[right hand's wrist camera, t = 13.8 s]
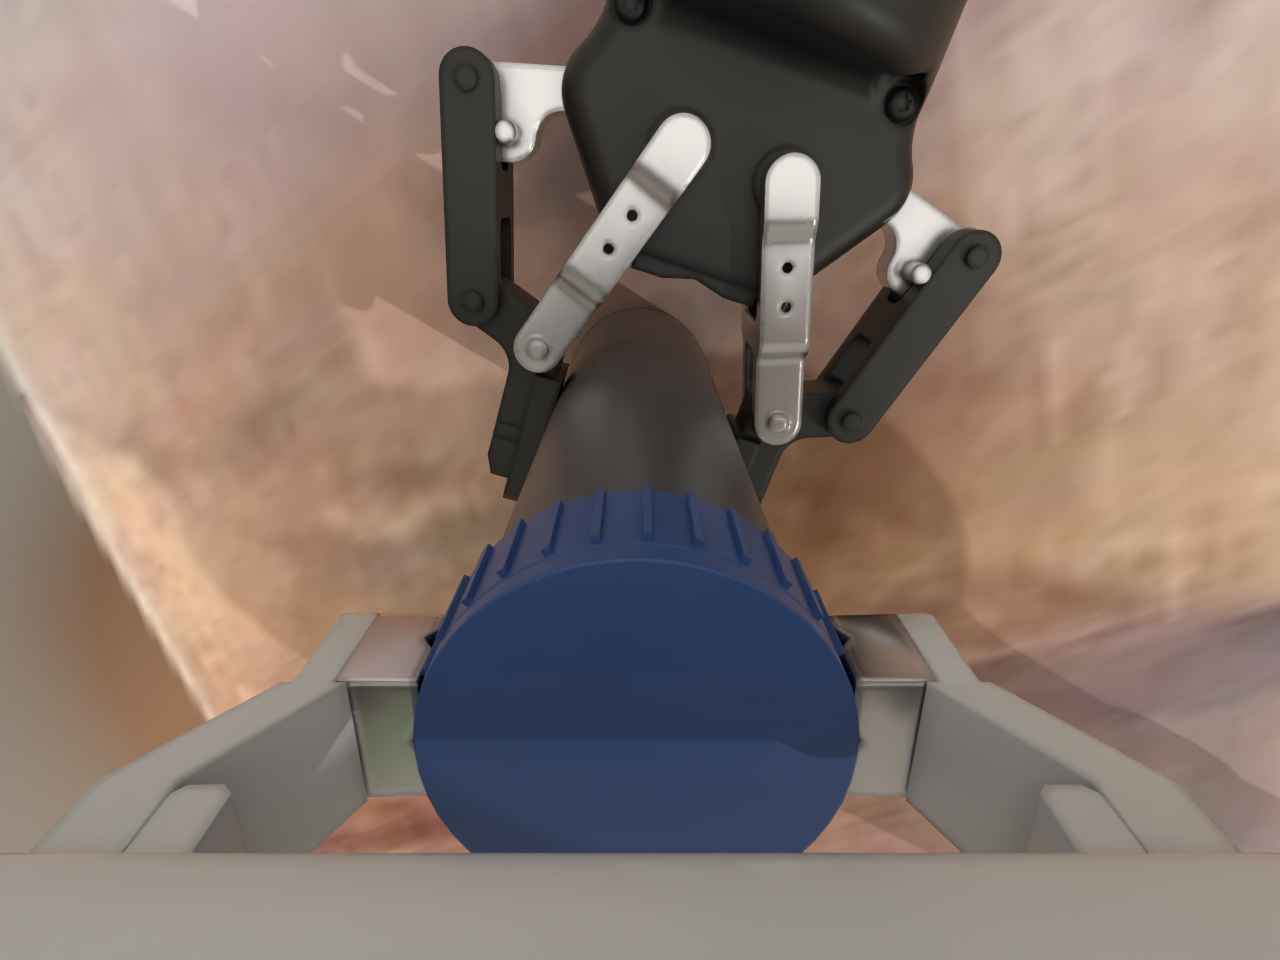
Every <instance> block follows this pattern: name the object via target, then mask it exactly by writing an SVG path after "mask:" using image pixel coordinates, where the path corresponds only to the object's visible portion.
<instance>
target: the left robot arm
mask: <svg viewBox="0 0 1280 960" xmlns="http://www.w3.org/2000/svg"><path fill="white" fill-rule="evenodd" d="M966 2H967V0H606V4H605V6H604V9H603V12H602V14H601V16H600V18H599V20H598V22H597V24H596V26H595V27H594V28H593V30H592V31H591V33H590V34H589V36H588V37H587V38H586V39H585V40H584V41H583V43H582V44H581V45H580V46H579V47H578V48H577V49H576V50H575V51H574V53H573V54H572V56H571V57H570V59H569V61H568V63H567V65H566V66H556V65H541V64H526V63H510V62H496V61H492V60H490V59H488V58H487V57H486V56H485V55H484V54H483V53H481V52H480V51H479V50H477V49H475V48H473V47H469V46H460V47H456V48H454V49H452V50H450V51H449V52H448V53H447V54H446V55H445V56H444V58H443V60H442V62H441V64H440V68H439V92H440V116H441V141H442V166H443V191H444V216H445V241H446V265H447V290H448V304H449V308H450V310H451V312H452V313H453V315H454V316H455V317H456V318H457V319H458V320H459V321H460V322H462V323H464V324H466V325H470V326H477V327H478V328H479V329H481V330H482V331H483V332H485V333H486V334H488V335H489V336H490V337H492V338H493V339H494V340H496V341H497V342H498V343H499V344H500V345H501V346H502V347H503V349H504V350H505V352H506V354H507V357H508V361H509V372H508V377H507V381H506V385H505V389H504V393H503V397H502V400H501V404H500V408H499V412H498V416H497V421H496V424H495V428H494V432H493V436H492V440H491V444H490V448H489V452H488V459H489V465H490V471H491V473H492V474H496V475H499V476H503V477H506V478H508V479H507V483H506V486H505V490H504V495H503V498H507V499H510V500H514V501H517V500H518V498H519V495H520V493H521V490H522V488H523V485H524V483H525V480H526V478H527V475H528V473H529V470H530V468H531V465H532V463H533V460H534V458H535V455H536V453H537V450H538V448H539V445H540V443H541V440H542V438H543V435H544V433H545V430H546V428H547V425H548V423H549V420H550V418H551V415H552V413H553V410H554V408H555V405H556V403H557V400H558V398H559V395H560V393H561V390H562V388H563V384H564V380H565V377H566V373H567V370H568V366H569V364H567V363H564V362H563V358H564V355H565V352H566V351H567V350H568V348H569V347H570V345H571V344H572V343H573V341H574V340H575V339H576V337H577V336H578V334H579V333H580V332H581V330H582V329H583V327H584V326H585V325H586V323H587V322H588V321H589V319H590V318H591V316H592V315H593V314H594V312H595V311H596V310H597V308H598V307H599V306H600V305H601V304H602V302H603V301H604V300H605V299H606V297H607V296H608V294H609V293H610V292H611V290H612V289H613V288H614V286H615V285H616V283H617V282H618V281H619V279H620V278H621V277H622V275H623V274H624V272H625V271H626V270H627V268H628V267H629V265H630V264H632V266H631V268H634V269H637V270H640V271H643V272H646V273H649V274H652V275H655V276H658V277H661V278H682V279H695V280H697V281H699V282H700V283H702V284H703V285H705V286H706V287H708V288H709V289H711V290H712V291H714V292H715V293H717V294H718V295H720V296H721V297H723V298H725V299H728V300H732V301H735V302H738V303H741V304H742V309H741V326H742V336H743V394H742V400H743V401H742V403H741V406H740V409H739V411H738V414H737V416H734V415H730V414H727V419H728V421H729V424H730V427H731V429H732V432H733V434H734V437H735V440H736V442H737V445H738V448H739V450H740V453H741V456H742V458H743V461H744V463H745V466H746V469H747V471H748V474H749V477H750V479H751V482H752V485H753V487H754V490H755V492H756V495H757V498H758V500H759V503H760V504H761V500H762V499H763V497H764V494H765V492H766V490H767V487H768V485H769V482H770V480H771V477H772V475H773V473H774V470H775V468H776V465H777V463H778V460H779V458H780V456H781V454H782V452H783V451H784V449H785V448H786V447H787V446H788V445H790V444H791V443H793V442H794V441H796V440H799V439H802V438H808V437H832V436H833V437H834V438H835V439H836V440H838V441H840V442H843V443H854V442H858V441H860V440H862V439H864V438H865V437H866V436H867V435H868V434H869V433H870V432H871V430H872V429H873V428H874V427H875V425H876V424H877V423H878V421H879V420H880V419H881V417H882V416H883V415H884V414H885V412H886V411H887V410H888V408H889V407H890V406H891V405H892V403H893V402H894V401H895V399H896V398H897V397H898V395H899V394H900V393H901V392H902V390H903V389H904V388H905V386H906V385H907V384H908V383H909V381H910V380H911V379H912V377H913V376H914V375H915V373H916V372H917V371H918V370H919V368H920V367H921V366H922V364H923V363H924V362H925V361H926V359H927V358H928V357H929V355H930V354H931V353H932V351H933V350H934V349H935V348H936V346H937V345H938V344H939V342H940V341H941V340H942V339H943V337H944V336H945V335H946V333H947V332H948V331H949V330H950V328H951V327H952V326H953V324H954V323H955V322H956V320H957V319H958V318H959V317H960V315H961V314H962V313H963V311H964V310H965V309H966V308H967V306H968V305H969V304H970V302H971V301H972V300H973V298H974V297H975V296H976V295H977V293H978V292H979V291H980V289H981V288H982V287H983V286H984V284H985V283H986V282H987V280H988V279H989V278H990V276H991V275H992V274H993V273H994V271H995V270H996V268H997V267H998V265H999V263H1000V260H1001V254H1002V251H1001V245H1000V242H999V240H998V239H997V237H996V236H995V235H993V234H992V233H990V232H988V231H984V230H977V229H975V228H970V227H962V226H960V225H959V224H958V223H956V222H955V221H953V220H952V219H951V218H949V217H948V216H947V215H945V214H944V213H943V212H941V211H940V210H938V209H937V208H936V207H934V206H933V205H932V204H930V203H929V202H927V201H926V200H925V199H923V198H922V197H921V196H919V195H918V194H916V193H915V192H914V191H912V190H911V186H912V181H913V164H912V141H913V134H914V129H915V125H916V121H917V118H918V116H919V113H920V111H921V109H922V107H923V104H924V102H925V100H926V98H927V96H928V93H929V91H930V89H931V87H932V84H933V82H934V80H935V77H936V75H937V72H938V70H939V67H940V65H941V62H942V60H943V58H944V55H945V53H946V50H947V48H948V45H949V43H950V41H951V38H952V36H953V33H954V31H955V28H956V26H957V23H958V21H959V19H960V16H961V14H962V11H963V9H964V6H965V4H966ZM559 115H566V116H567V119H568V122H569V125H570V128H571V131H572V134H573V137H574V140H575V144H576V147H577V150H578V153H579V156H580V159H581V162H582V165H583V168H584V171H585V174H586V177H587V180H588V183H589V186H590V189H591V192H592V195H593V198H594V201H595V204H596V207H597V210H598V213H599V216H598V217H597V219H596V220H595V222H594V223H593V225H592V226H591V227H590V229H589V230H588V232H587V233H586V235H585V236H584V238H583V239H582V240H581V242H580V243H579V245H578V246H577V248H576V249H575V251H574V252H573V253H572V255H571V256H570V258H569V259H568V261H567V262H566V264H565V265H564V267H563V268H562V270H561V271H560V273H559V274H558V276H557V277H556V279H555V280H554V282H553V283H552V285H551V286H550V288H549V289H548V291H547V292H546V294H545V295H544V296H543V298H542V299H541V301H540V302H539V301H538V300H537V299H535V298H534V297H533V296H531V295H530V294H529V293H527V292H526V291H525V290H524V289H522V288H521V287H520V286H518V285H517V284H516V283H514V221H513V163H524V162H526V161H528V160H530V159H531V158H533V157H534V156H535V154H536V153H537V151H538V149H539V146H540V141H541V135H542V132H543V129H544V127H545V126H546V124H547V123H548V122H549V121H550V120H551V119H553V118H554V117H557V116H559ZM880 228H882V230H883V233H884V236H885V246H884V250H883V253H882V255H881V257H880V259H879V261H878V264H877V271H876V272H877V277H878V280H879V282H880V283H881V285H882V286H883V288H882V289H881V291H880V292H879V294H878V295H877V296H876V298H875V299H874V300H873V302H872V303H871V305H870V306H869V307H868V309H867V310H866V312H865V313H864V314H863V316H862V317H861V318H860V320H859V321H858V323H857V324H856V325H855V327H854V328H853V330H852V331H851V332H850V334H849V335H848V336H847V338H846V339H845V341H844V342H843V343H842V345H841V346H840V347H839V349H838V350H837V352H836V353H835V354H834V356H833V357H832V359H831V360H830V361H829V363H828V364H827V365H826V367H825V368H824V370H823V371H822V372H821V374H820V375H819V377H818V378H817V379H816V380H803V378H804V361H805V357H806V355H807V354H808V351H809V345H810V330H811V310H812V290H813V276H814V275H816V274H817V273H818V272H820V271H821V270H822V269H824V268H825V267H827V266H828V265H829V264H831V263H832V262H834V261H835V260H836V259H838V258H839V257H841V256H842V255H843V254H845V253H846V252H848V251H849V250H850V249H852V248H853V247H854V246H856V245H857V244H859V243H860V242H861V241H863V240H864V239H866V238H867V237H868V236H870V235H871V234H873V233H874V232H875V231H877V230H878V229H880Z"/></svg>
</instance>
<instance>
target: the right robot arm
mask: <svg viewBox="0 0 1280 960" xmlns="http://www.w3.org/2000/svg"><path fill="white" fill-rule="evenodd" d="M444 617H445V615H430V614H379V613H350V614H345V615H341V616H340V617H339V618H338V620H337V621H336V622H335V624H334V625H333V627H332V628H331V629H330V631H329V632H328V634H327V635H326V636H325V638H324V639H323V641H322V642H321V643H320V645H319V646H318V648H317V649H316V650H315V652H314V653H313V655H312V656H311V657H310V659H309V660H308V662H307V663H306V664H305V666H304V667H303V669H302V670H301V671H300V673H299V674H298V676H297V677H296V678H295V680H294V681H293V682H281V683H279V684H277V685H275V686H273V687H271V688H270V689H268V690H266V691H264V692H262V693H260V694H258V695H256V696H255V697H253V698H251V699H249V700H247V701H245V702H243V703H241V704H239V705H238V706H236V707H234V708H232V709H230V710H228V711H226V712H224V713H223V714H221V715H219V716H217V717H215V718H213V719H211V720H209V721H208V722H206V723H204V724H202V725H200V726H198V727H196V728H194V729H193V730H191V731H189V732H187V733H185V734H183V735H181V736H179V737H177V738H176V739H174V740H172V741H170V742H168V743H166V744H164V745H162V746H161V747H159V748H157V749H155V750H153V751H151V752H149V753H147V754H145V755H144V756H142V757H140V758H138V759H136V760H134V761H132V762H130V763H129V764H127V765H125V766H123V767H121V768H119V769H117V770H115V771H113V772H112V773H110V774H108V775H106V776H104V777H102V778H100V779H99V780H97V781H95V782H94V783H93V784H92V785H91V786H90V787H89V788H88V789H87V790H86V791H85V793H84V794H83V795H82V796H81V797H80V798H79V799H78V800H77V801H76V802H75V803H74V804H73V805H72V807H71V808H70V809H69V810H68V811H67V812H66V813H65V814H64V815H63V816H62V817H61V818H60V819H59V821H58V822H57V823H56V824H55V825H54V826H53V827H52V828H51V829H50V830H49V831H48V832H47V834H46V835H45V836H44V837H43V838H42V839H41V840H40V841H39V842H38V843H37V844H36V845H35V846H34V847H33V849H32V850H31V851H30V852H29V853H0V960H1280V853H1241V852H1240V851H1239V850H1238V848H1237V847H1236V846H1235V845H1234V844H1233V843H1232V842H1231V841H1230V840H1229V839H1228V837H1227V836H1226V835H1225V834H1224V833H1223V832H1222V831H1221V830H1220V829H1219V827H1218V826H1217V825H1216V824H1215V823H1214V822H1213V821H1212V820H1211V819H1210V818H1209V816H1208V815H1207V814H1206V813H1205V812H1204V811H1203V810H1202V809H1201V808H1200V807H1199V805H1198V804H1197V803H1196V802H1195V801H1194V800H1193V799H1192V798H1191V797H1190V796H1189V794H1188V793H1187V792H1186V791H1185V790H1184V789H1183V788H1182V787H1181V786H1180V785H1179V783H1178V782H1176V781H1174V780H1172V779H1170V778H1168V777H1166V776H1165V775H1163V774H1161V773H1159V772H1157V771H1155V770H1153V769H1152V768H1150V767H1148V766H1146V765H1144V764H1142V763H1140V762H1139V761H1137V760H1135V759H1133V758H1131V757H1129V756H1127V755H1126V754H1124V753H1122V752H1120V751H1118V750H1116V749H1114V748H1113V747H1111V746H1109V745H1107V744H1105V743H1103V742H1101V741H1100V740H1098V739H1096V738H1094V737H1092V736H1090V735H1088V734H1087V733H1085V732H1083V731H1081V730H1079V729H1077V728H1075V727H1074V726H1072V725H1070V724H1068V723H1066V722H1064V721H1062V720H1061V719H1059V718H1057V717H1055V716H1053V715H1051V714H1049V713H1048V712H1046V711H1044V710H1042V709H1040V708H1038V707H1036V706H1035V705H1033V704H1031V703H1029V702H1027V701H1025V700H1023V699H1022V698H1020V697H1018V696H1016V695H1014V694H1012V693H1010V692H1009V691H1007V690H1005V689H1003V688H1001V687H999V686H997V685H996V684H994V683H992V682H980V681H979V680H978V679H977V677H976V676H975V674H974V673H973V672H972V670H971V669H970V667H969V666H968V664H967V663H966V662H965V660H964V659H963V657H962V656H961V655H960V653H959V652H958V650H957V649H956V647H955V646H954V645H953V643H952V642H951V640H950V639H949V638H948V636H947V635H946V633H945V632H944V630H943V629H942V628H941V626H940V625H939V623H938V622H937V621H936V619H935V618H934V616H932V615H930V614H928V613H908V614H885V615H845V616H829V618H830V620H831V622H832V624H833V627H834V629H835V631H836V633H837V636H838V638H839V640H840V642H841V645H842V647H843V649H844V652H845V654H843V655H841V659H840V661H841V663H842V665H843V668H844V670H845V673H846V675H847V677H848V680H849V682H850V684H851V687H852V690H853V694H854V698H855V702H856V706H857V710H858V720H859V734H860V736H859V746H858V757H857V762H856V766H855V770H854V773H853V777H852V781H851V784H850V786H849V788H848V791H847V793H846V795H849V796H886V797H906V801H907V802H908V803H909V804H911V805H912V806H913V807H914V808H915V809H916V810H917V811H918V812H919V813H920V814H921V815H922V816H923V817H924V818H925V819H927V820H928V821H929V822H930V823H931V824H932V825H933V826H934V827H935V828H936V829H937V830H938V831H939V832H940V833H942V834H943V835H944V836H945V837H946V838H947V839H948V840H949V841H950V842H951V843H952V844H953V845H954V846H955V847H957V848H958V849H959V850H960V851H961V852H962V853H311V852H312V851H313V850H314V849H315V848H317V847H318V846H319V845H320V844H321V843H322V842H323V841H324V840H325V839H326V838H327V837H328V836H330V835H331V834H332V833H333V832H334V831H335V830H336V829H337V828H338V827H339V826H340V825H341V824H343V823H344V822H345V821H346V820H347V819H348V818H349V817H350V816H351V815H352V814H353V813H354V812H356V811H357V810H358V809H359V808H360V807H361V806H362V805H363V804H364V803H365V802H366V801H367V797H387V796H422V795H427V794H426V791H425V789H424V786H423V783H422V781H421V778H420V775H419V772H418V767H417V762H416V757H415V752H414V735H413V723H414V716H415V709H416V702H417V699H418V695H419V692H420V689H421V686H422V682H423V679H424V677H425V676H422V674H421V671H422V668H423V666H424V664H425V661H426V659H427V657H428V655H429V653H430V650H431V648H432V646H433V644H434V642H435V639H436V637H435V636H436V634H437V632H438V630H439V628H440V625H441V623H442V621H443V619H444Z"/></svg>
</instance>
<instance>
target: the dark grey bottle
mask: <svg viewBox="0 0 1280 960" xmlns="http://www.w3.org/2000/svg"><path fill="white" fill-rule="evenodd" d="M643 486H651V491H657V492H668V493H673V494H678V495H683V496H687V494H688V492H691V493H695V494H696V497H697V499H699V500H702V501H705V502H708V503H711V504H714V505H717V506H720V507H722V508H724V509H726V510H729V508H730V507H733V508H735V509H737V510H738V513H739V516H740V517H742V518H744V519H745V520H747V521H748V522H750V523H751V524H753V525H754V526H756V527H757V528H759V529H760V530H762V531H763V532H764V531H765V530H766V529H769V527H768V524H767V521H766V519H765V516H764V513H763V511H762V508H761V506H760V503H759V500H758V498H757V495H756V492H755V490H754V487H753V485H752V482H751V479H750V477H749V474H748V471H747V469H746V466H745V463H744V461H743V458H742V456H741V453H740V450H739V448H738V445H737V442H736V440H735V437H734V434H733V432H732V429H731V427H730V424H729V421H728V419H727V416H726V413H725V411H724V408H723V405H722V403H721V400H720V398H719V395H718V392H717V390H716V387H715V384H714V382H713V379H712V376H711V374H710V371H709V369H708V366H707V363H706V361H705V358H704V355H703V353H702V350H701V348H700V346H699V344H698V342H697V340H696V339H695V337H694V336H693V334H692V333H691V332H690V331H689V330H688V328H687V327H686V326H684V325H683V324H682V323H681V322H680V321H678V320H677V319H675V318H674V317H672V316H670V315H668V314H666V313H663V312H660V311H657V310H653V309H646V308H633V309H626V310H622V311H619V312H616V313H613V314H611V315H609V316H607V317H605V318H604V319H602V320H601V321H599V322H598V323H597V324H596V325H595V326H593V327H592V328H591V329H590V331H589V332H588V333H587V334H586V335H585V337H584V339H583V340H582V342H581V344H580V346H579V348H578V350H577V353H576V355H575V358H574V360H573V363H572V365H571V368H570V370H569V373H568V375H567V378H566V380H565V383H564V385H563V388H562V390H561V393H560V395H559V398H558V400H557V403H556V405H555V408H554V410H553V413H552V415H551V418H550V420H549V423H548V425H547V428H546V430H545V433H544V435H543V438H542V440H541V443H540V445H539V448H538V450H537V453H536V455H535V458H534V460H533V463H532V465H531V468H530V470H529V473H528V475H527V478H526V480H525V483H524V485H523V488H522V490H521V493H520V495H519V498H518V500H517V503H516V505H515V508H514V510H513V513H512V515H511V518H510V521H509V523H508V526H507V528H506V531H505V533H504V536H503V537H505V536H506V535H507V534H509V533H510V532H511V531H512V529H513V527H514V524H515V522H516V521H517V520H519V519H520V518H522V519H523V521H524V522H525V521H527V520H529V519H530V518H532V517H534V516H535V515H537V514H539V513H541V512H543V511H545V510H548V509H550V508H552V506H553V502H554V501H557V500H559V499H561V500H562V502H563V503H564V502H568V501H571V500H575V499H578V498H582V497H585V496H589V495H595V494H596V492H597V489H603V488H605V491H606V493H607V492H613V491H635V490H642V487H643ZM769 530H770V529H769Z"/></svg>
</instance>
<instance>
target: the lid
mask: <svg viewBox="0 0 1280 960" xmlns="http://www.w3.org/2000/svg"><path fill="white" fill-rule="evenodd" d="M435 637H436V639H435V642H434V644H433V646H432V648H431V650H430V653H429V655H428V657H427V659H426V661H425V664H424V666H423V668H422V671H421V674H422V676H425V677H424V679H423V682H422V686H421V689H420V692H419V695H418V699H417V702H416V709H415V716H414V723H413V735H414V752H415V757H416V762H417V767H418V772H419V775H420V778H421V781H422V783H423V786H424V789H425V791H426V794H427V796H428V798H429V800H430V802H431V803H432V805H433V807H434V809H435V811H436V812H437V814H438V816H439V817H440V818H441V820H442V821H443V822H444V824H445V825H446V826H447V828H448V829H449V830H450V832H451V833H452V834H453V835H454V836H455V837H456V838H457V839H458V840H459V841H460V842H461V843H462V844H463V845H464V846H465V847H466V849H467V850H468V851H470V852H471V853H802V852H803V851H804V850H805V849H806V848H807V847H809V846H810V845H811V844H812V843H813V842H814V841H815V840H816V839H817V837H818V836H819V835H820V834H821V833H822V831H823V830H824V829H825V828H826V827H827V825H828V824H829V823H830V822H831V820H832V818H833V817H834V815H835V814H836V812H837V810H838V809H839V807H840V806H841V804H842V802H843V800H844V797H845V795H846V793H847V791H848V788H849V786H850V784H851V781H852V777H853V773H854V770H855V766H856V762H857V757H858V746H859V736H860V734H859V720H858V710H857V706H856V702H855V698H854V694H853V690H852V687H851V684H850V682H849V680H848V677H847V675H846V673H845V670H844V668H843V665H842V663H841V661H840V659H841V655H843V654H845V652H844V649H843V647H842V645H841V642H840V640H839V638H838V636H837V633H836V631H835V629H834V627H833V624H832V622H831V620H830V618H829V615H828V613H827V611H826V609H825V606H824V604H823V602H822V600H821V597H820V595H819V593H818V591H817V590H814V591H813V590H812V587H811V585H810V583H809V580H808V578H807V576H806V573H805V571H804V569H803V566H802V564H801V562H800V561H799V559H798V558H797V557H795V558H794V559H792V560H791V559H790V557H789V556H788V555H787V554H786V553H785V552H784V550H783V549H782V548H781V547H780V546H779V545H778V544H777V542H776V540H775V537H774V535H773V533H772V532H771V531H770V530H769V529H766V530H765V531H764V532H763V531H762V530H760V529H759V528H757V527H756V526H754V525H753V524H751V523H750V522H748V521H747V520H745V519H744V518H742V517H740V516H739V513H738V510H737V509H735V508H733V507H730V508H729V510H726V509H724V508H722V507H720V506H717V505H714V504H711V503H708V502H705V501H702V500H699V499H697V497H696V494H695V493H691V492H688V494H687V496H683V495H678V494H673V493H668V492H657V491H651V486H643V487H642V490H635V491H613V492H607V493H606V491H605V488H603V489H597V492H596V494H595V495H589V496H585V497H582V498H578V499H575V500H571V501H568V502H564V503H563V502H562V500H561V499H559V500H557V501H554V502H553V506H552V508H550V509H548V510H545V511H543V512H541V513H539V514H537V515H535V516H534V517H532V518H530V519H529V520H527V521H525V522H524V521H523V519H522V518H520V519H519V520H517V521H516V522H515V524H514V527H513V529H512V531H511V532H510V533H509V534H507V535H506V536H505V537H503V538H502V539H501V540H500V541H499V542H498V543H497V544H496V545H495V546H494V547H492V546H491V545H490V544H488V545H487V546H486V547H485V548H484V550H483V552H482V555H481V557H480V559H479V561H478V564H477V566H476V568H475V570H474V572H473V573H472V574H471V576H470V577H468V576H466V575H464V576H463V578H462V580H461V582H460V584H459V586H458V588H457V590H456V593H455V595H454V597H453V599H452V601H451V604H450V606H449V608H448V610H447V612H446V614H445V617H444V619H443V621H442V623H441V625H440V628H439V630H438V632H437V634H436V636H435Z"/></svg>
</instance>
